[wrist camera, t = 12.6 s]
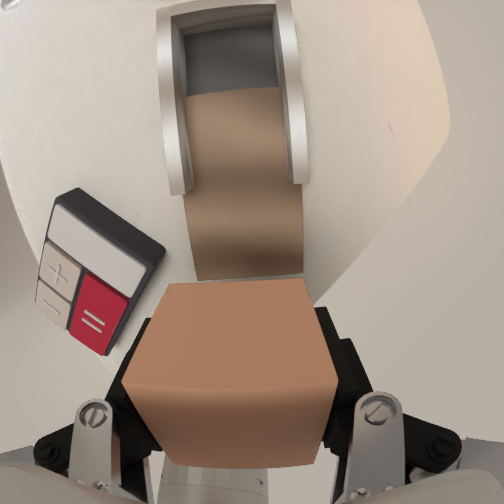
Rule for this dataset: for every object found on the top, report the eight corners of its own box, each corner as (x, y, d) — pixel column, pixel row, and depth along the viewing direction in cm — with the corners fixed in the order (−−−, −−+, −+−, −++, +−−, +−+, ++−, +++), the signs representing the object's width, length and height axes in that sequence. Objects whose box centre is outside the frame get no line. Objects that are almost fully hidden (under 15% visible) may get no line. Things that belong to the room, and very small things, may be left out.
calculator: (31, 308, 23) (50, 197, 17) (49, 288, 27) (77, 185, 21) (104, 362, 25) (152, 271, 20) (118, 338, 29) (168, 247, 24)
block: (297, 371, 12) (313, 463, 7) (191, 374, 12) (173, 464, 7) (302, 277, 10) (338, 380, 5) (169, 283, 10) (120, 381, 5)
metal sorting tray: (300, 265, 24) (310, 291, 20) (200, 272, 24) (191, 299, 20) (282, 17, 16) (289, -7, 11) (172, 29, 16) (156, 9, 12)
